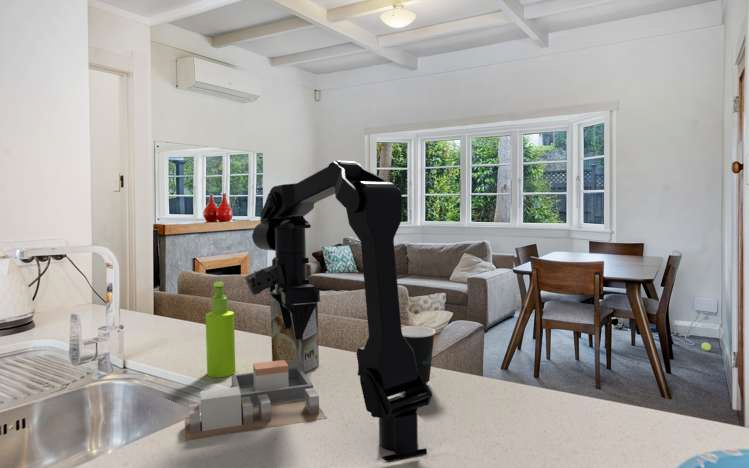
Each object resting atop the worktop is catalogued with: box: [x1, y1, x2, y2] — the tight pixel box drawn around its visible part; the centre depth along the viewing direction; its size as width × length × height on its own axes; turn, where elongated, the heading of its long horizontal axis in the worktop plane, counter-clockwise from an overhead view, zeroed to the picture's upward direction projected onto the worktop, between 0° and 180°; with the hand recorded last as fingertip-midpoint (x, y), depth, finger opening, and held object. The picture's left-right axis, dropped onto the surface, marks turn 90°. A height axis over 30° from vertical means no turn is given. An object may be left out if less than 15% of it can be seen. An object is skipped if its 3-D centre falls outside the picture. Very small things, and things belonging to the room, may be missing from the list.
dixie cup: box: [401, 325, 436, 387], centre depth 104 cm, size 8×8×11 cm
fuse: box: [200, 386, 242, 431], centre depth 84 cm, size 4×6×5 cm, turn 110°
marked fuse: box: [252, 360, 289, 391], centre depth 99 cm, size 4×6×5 cm, turn 110°
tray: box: [231, 367, 314, 406], centre depth 99 cm, size 12×14×3 cm
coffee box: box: [269, 296, 320, 373], centre depth 116 cm, size 9×6×16 cm
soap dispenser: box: [205, 281, 236, 379], centre depth 112 cm, size 6×7×20 cm
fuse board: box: [184, 387, 328, 442], centre depth 86 cm, size 9×22×4 cm, turn 110°
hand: (292, 333), depth 99 cm, fingers open, 9 cm apart
